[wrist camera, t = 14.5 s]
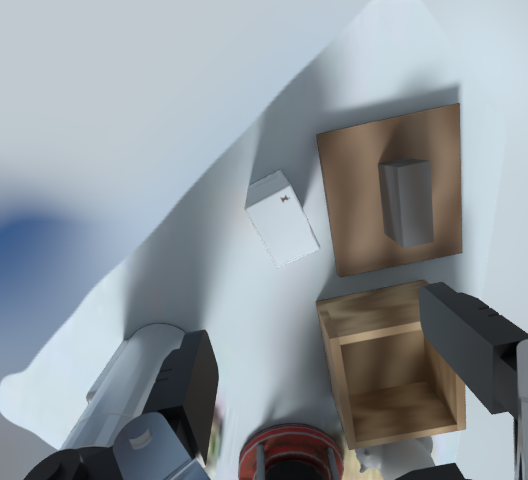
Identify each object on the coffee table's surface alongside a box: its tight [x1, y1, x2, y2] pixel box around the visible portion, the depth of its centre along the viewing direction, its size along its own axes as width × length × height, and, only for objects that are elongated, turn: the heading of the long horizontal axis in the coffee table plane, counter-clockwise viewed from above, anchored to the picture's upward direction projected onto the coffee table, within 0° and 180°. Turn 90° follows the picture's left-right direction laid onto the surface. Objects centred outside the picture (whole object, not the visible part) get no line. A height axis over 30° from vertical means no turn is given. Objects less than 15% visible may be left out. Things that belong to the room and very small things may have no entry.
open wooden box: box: [316, 280, 466, 450], centre depth 39 cm, size 14×16×8 cm
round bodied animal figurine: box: [345, 436, 435, 480], centre depth 44 cm, size 7×12×8 cm, turn 81°
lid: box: [316, 103, 462, 277], centre depth 33 cm, size 15×17×7 cm
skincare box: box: [245, 170, 320, 268], centre depth 31 cm, size 6×4×12 cm
